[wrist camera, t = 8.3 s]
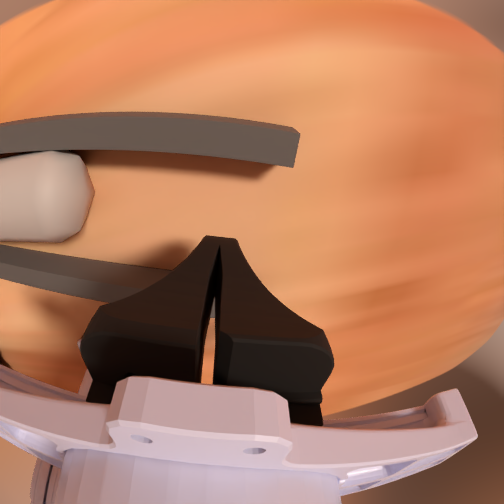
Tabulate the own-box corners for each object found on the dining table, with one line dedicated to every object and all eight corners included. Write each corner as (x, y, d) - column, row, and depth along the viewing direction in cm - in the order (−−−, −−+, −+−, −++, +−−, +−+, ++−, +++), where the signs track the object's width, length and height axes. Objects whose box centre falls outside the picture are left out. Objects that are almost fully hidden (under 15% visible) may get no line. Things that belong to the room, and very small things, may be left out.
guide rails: (256, 299, 18) (258, 322, 16) (-26, 253, 16) (-39, 266, 14) (292, 127, 13) (300, 133, 11) (-49, 135, 10) (-66, 143, 8)
